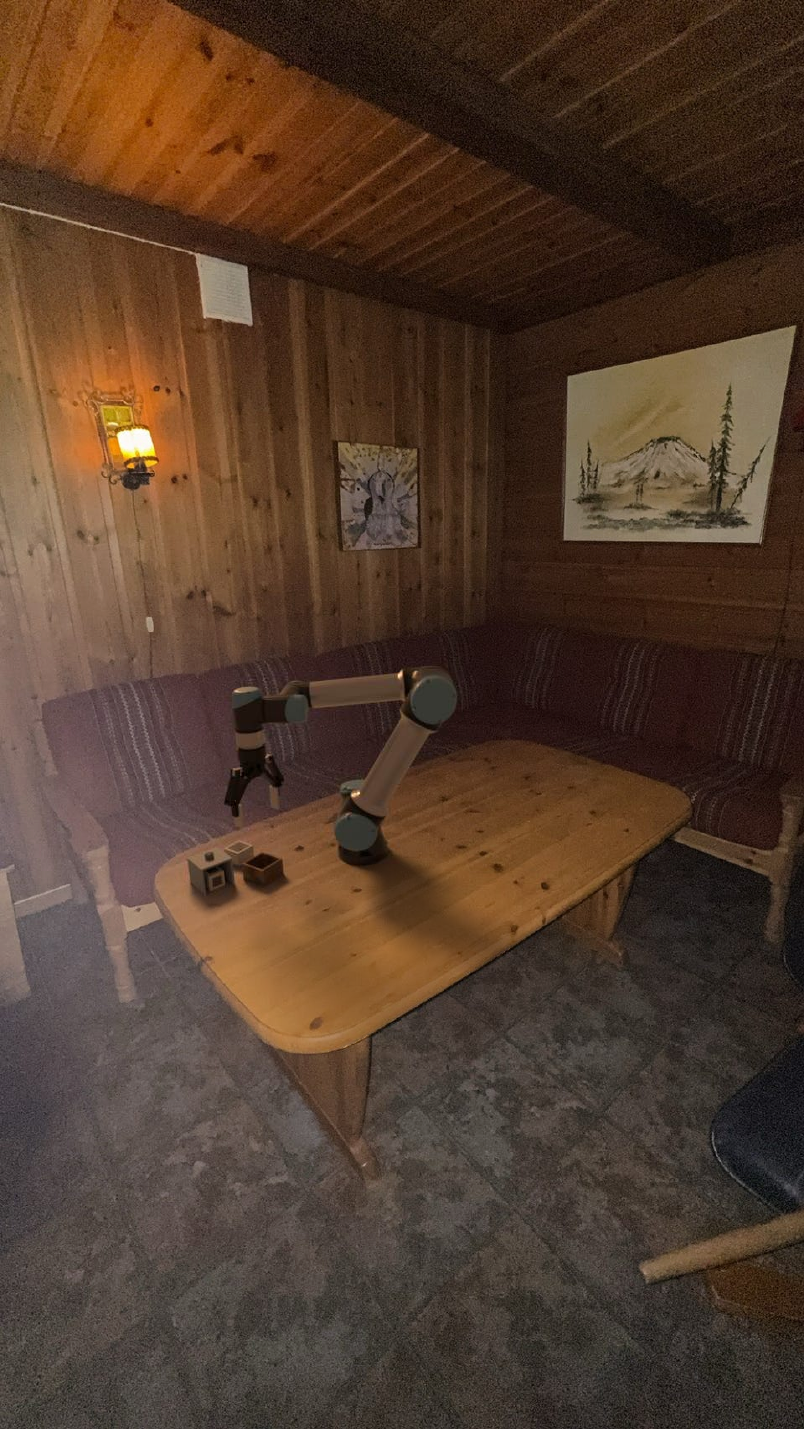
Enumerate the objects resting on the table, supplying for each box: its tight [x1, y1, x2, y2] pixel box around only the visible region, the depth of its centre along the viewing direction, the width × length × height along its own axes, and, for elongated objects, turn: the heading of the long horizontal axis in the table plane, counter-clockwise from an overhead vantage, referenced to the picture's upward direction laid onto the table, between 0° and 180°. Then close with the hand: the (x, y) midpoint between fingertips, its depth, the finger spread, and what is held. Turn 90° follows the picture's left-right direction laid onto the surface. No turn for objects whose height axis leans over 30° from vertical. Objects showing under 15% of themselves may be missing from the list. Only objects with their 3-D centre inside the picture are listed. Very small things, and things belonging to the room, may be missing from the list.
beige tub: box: [223, 840, 255, 868], centre depth 187 cm, size 6×6×4 cm
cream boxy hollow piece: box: [203, 866, 226, 892], centre depth 174 cm, size 5×4×5 cm
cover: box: [186, 846, 235, 897], centre depth 174 cm, size 9×9×9 cm
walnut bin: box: [241, 851, 285, 888], centre depth 178 cm, size 8×8×5 cm
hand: (257, 817), depth 173 cm, fingers open, 13 cm apart
